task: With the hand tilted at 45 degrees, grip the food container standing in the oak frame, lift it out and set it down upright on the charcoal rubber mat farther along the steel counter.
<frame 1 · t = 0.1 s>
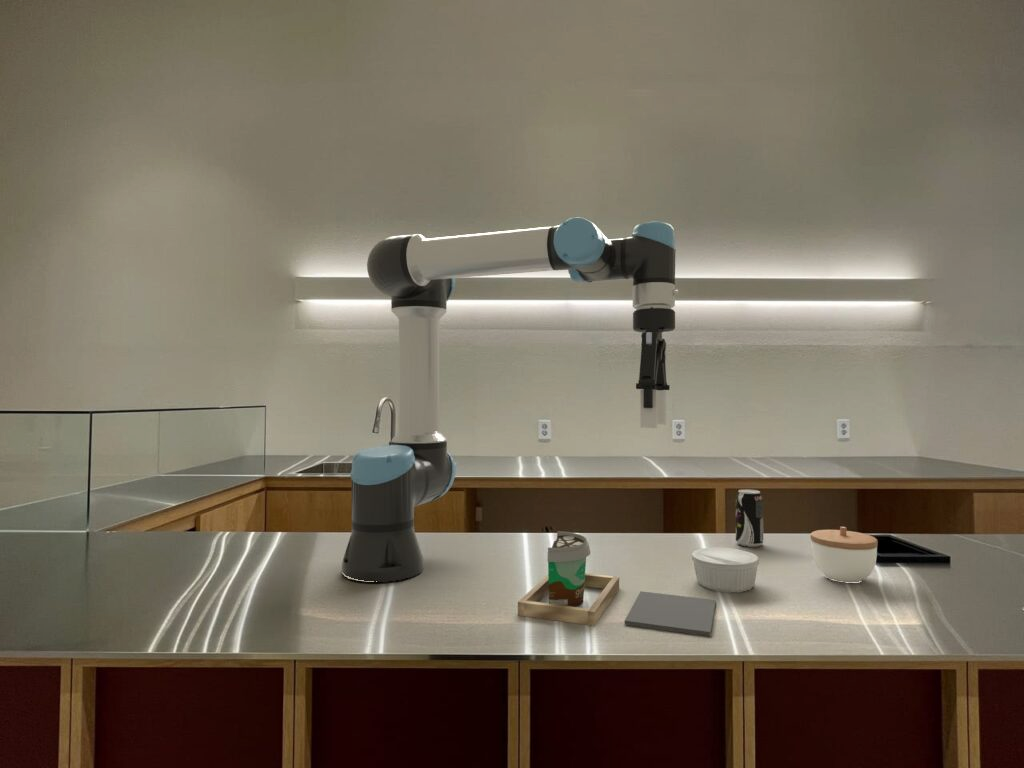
hand: (653, 426, 111), 28 cm above the table, tool pointing down, fingers open, 13 cm apart
charcoal mat: (672, 613, 94), on the table
lidded jar: (843, 579, 111), on the table
oak frame: (571, 600, 100), on the table
food container: (571, 602, 100), resting in oak frame
ramekin: (725, 586, 108), on the table
beverage can: (749, 545, 136), on the table
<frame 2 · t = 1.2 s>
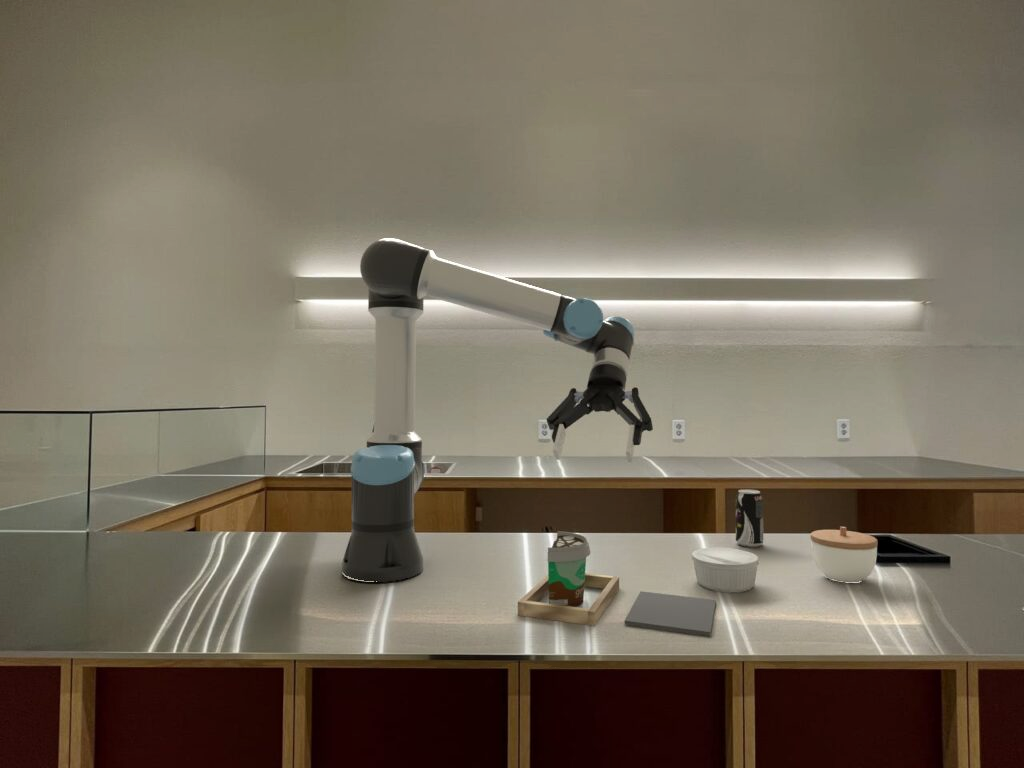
hand: (591, 456, 111), 22 cm above the table, tool tilted 45°, fingers open, 13 cm apart
nothing on the table moved.
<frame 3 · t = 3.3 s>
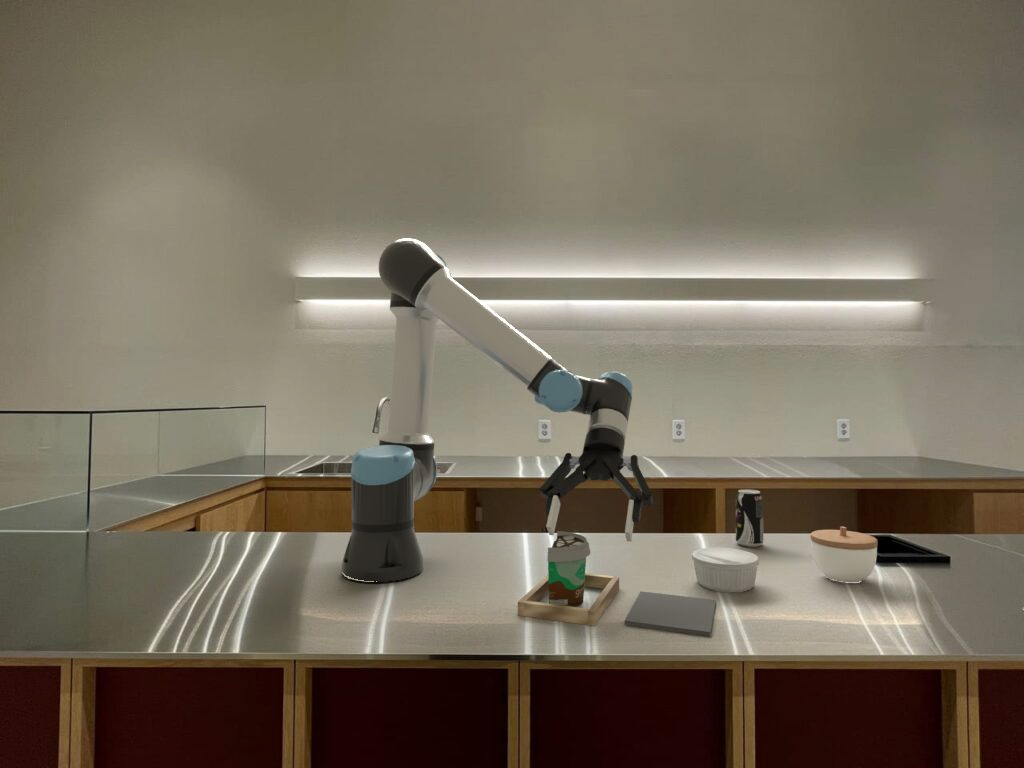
hand: (588, 534, 104), 10 cm above the table, tool tilted 45°, fingers open, 13 cm apart
nothing on the table moved.
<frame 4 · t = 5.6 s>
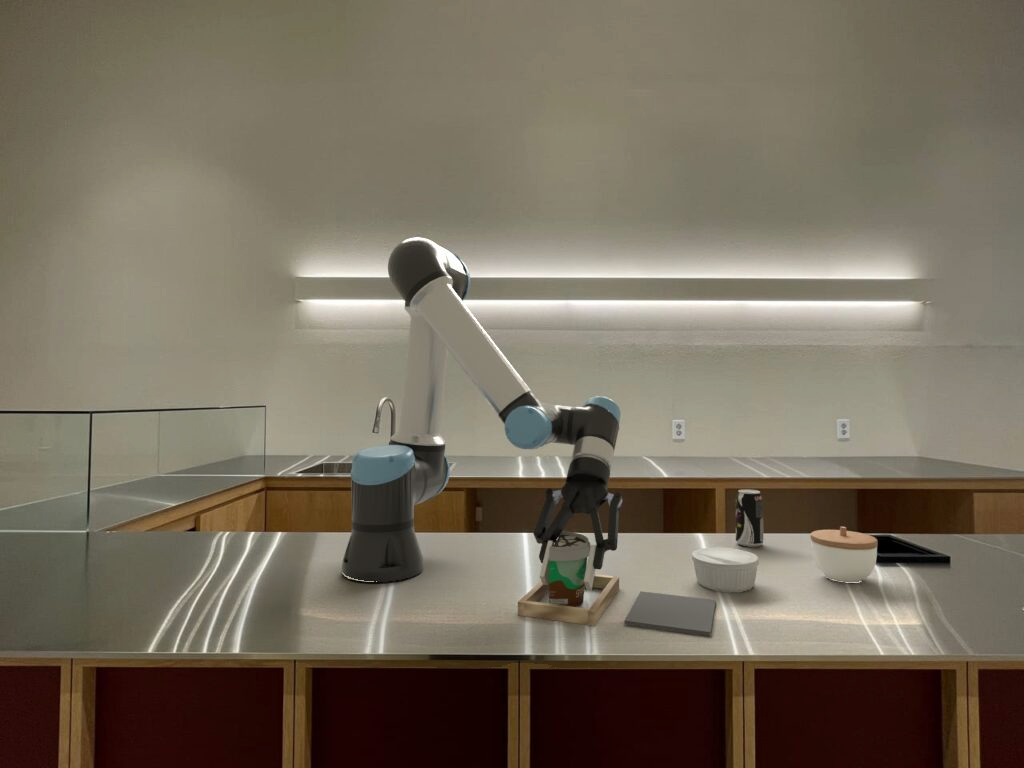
hand: (565, 583, 97), 4 cm above the table, tool tilted 45°, fingers closed on food container, 6 cm apart
food container: (571, 601, 100), resting in oak frame, touching gripper
everything else where it was.
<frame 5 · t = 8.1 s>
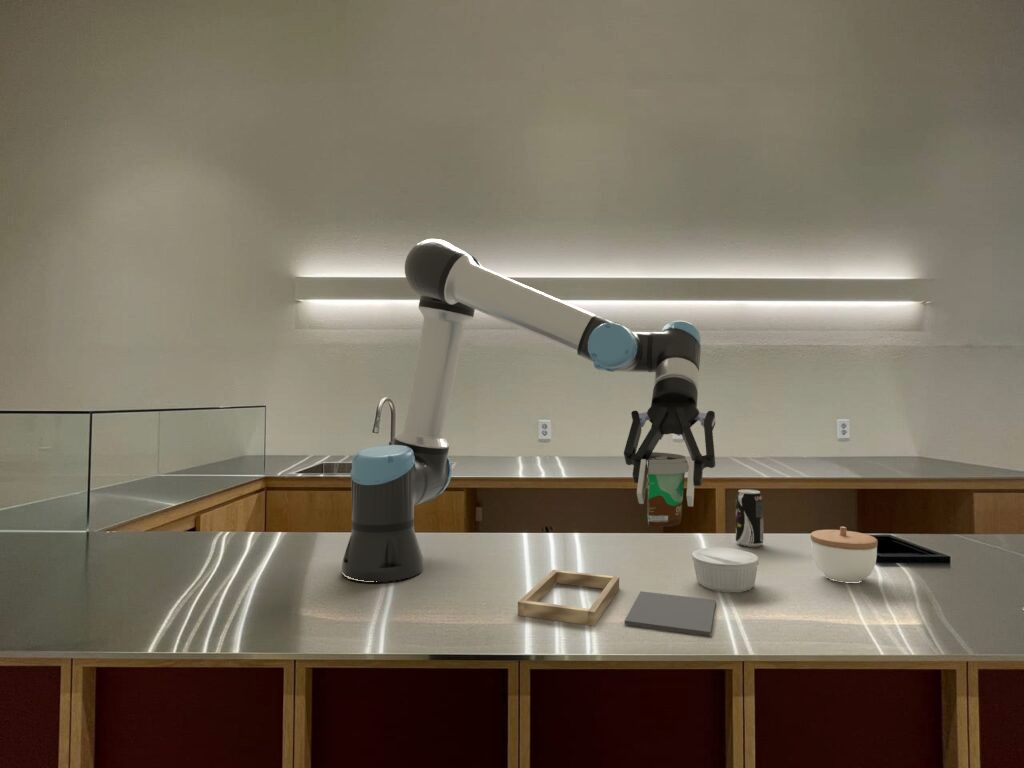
hand: (664, 499, 91), 18 cm above the table, tool tilted 45°, fingers closed on food container, 6 cm apart
food container: (668, 522, 94), point 14 cm above the table, touching gripper
everything else where it was.
when the fingers open (6 cm above the table, at t = 10.7 s): food container drops 2 cm, resting on charcoal mat.
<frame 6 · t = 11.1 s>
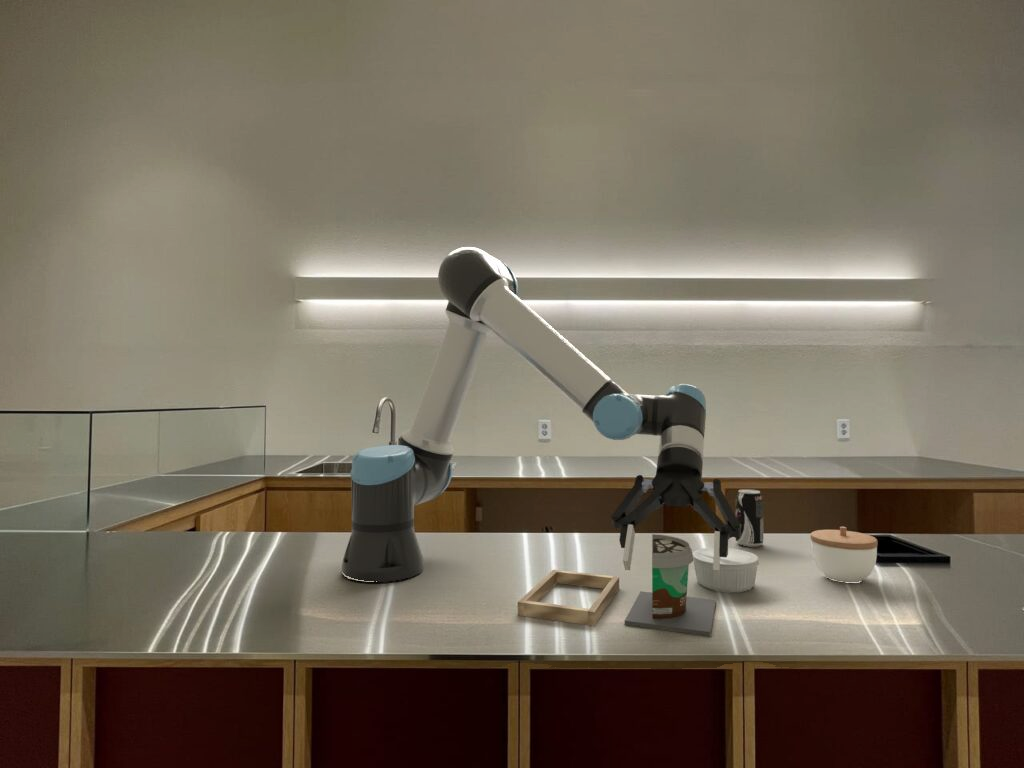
hand: (670, 570, 92), 7 cm above the table, tool tilted 45°, fingers open, 12 cm apart
food container: (672, 610, 94), resting on charcoal mat
everything else where it was.
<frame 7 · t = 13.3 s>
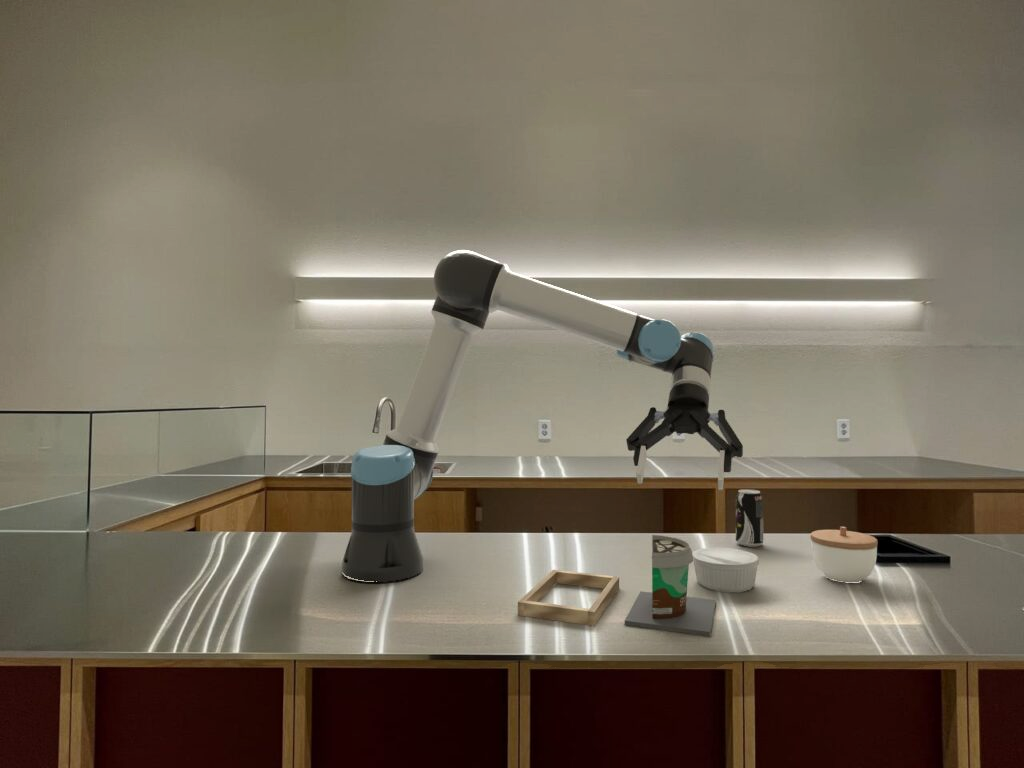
hand: (678, 482, 105), 19 cm above the table, tool tilted 45°, fingers open, 13 cm apart
nothing on the table moved.
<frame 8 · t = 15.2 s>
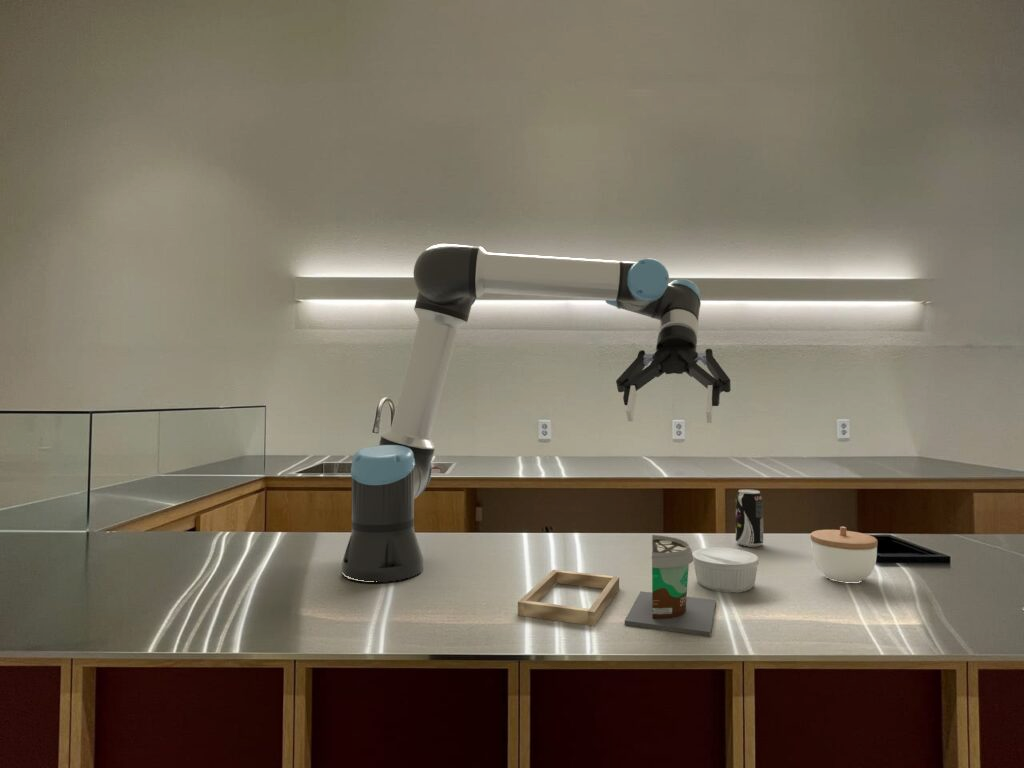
hand: (668, 417, 107), 30 cm above the table, tool tilted 45°, fingers open, 13 cm apart
nothing on the table moved.
at the end: food container inside the target area on the charcoal mat (0.2 cm from its centre), point 0.4 cm above the charcoal mat's base; food container tilted 0°; the gripper is holding nothing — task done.
